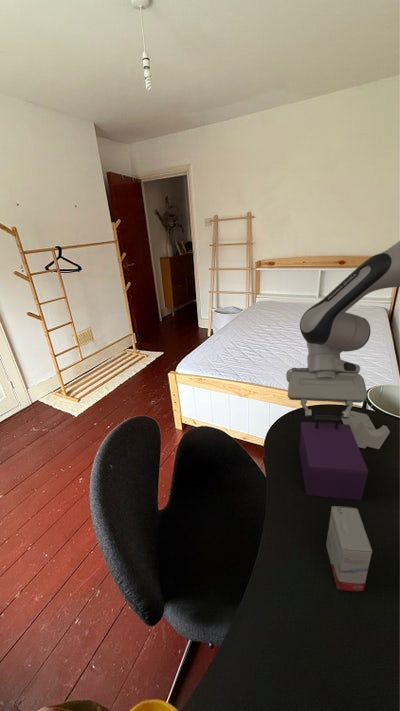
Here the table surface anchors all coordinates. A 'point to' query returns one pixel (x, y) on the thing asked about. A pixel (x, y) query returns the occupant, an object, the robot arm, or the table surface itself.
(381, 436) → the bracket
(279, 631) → the table surface
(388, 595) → the table surface
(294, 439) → the table surface
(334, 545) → the ink box
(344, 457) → the lid
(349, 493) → the box
